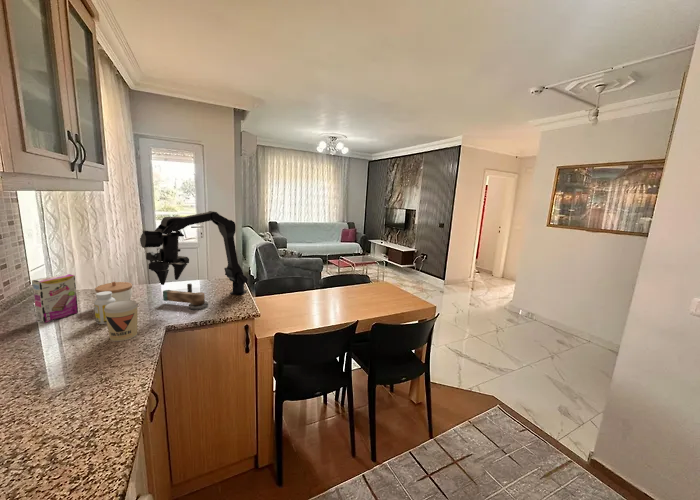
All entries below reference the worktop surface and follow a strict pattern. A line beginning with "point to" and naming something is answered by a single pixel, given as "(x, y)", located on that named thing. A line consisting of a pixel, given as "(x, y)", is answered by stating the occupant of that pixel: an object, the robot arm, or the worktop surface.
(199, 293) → the capstan lever
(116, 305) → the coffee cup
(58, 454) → the worktop surface
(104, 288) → the lidded bowl
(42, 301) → the candy bar box
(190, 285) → the dark grey pieces
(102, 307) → the pill bottle
